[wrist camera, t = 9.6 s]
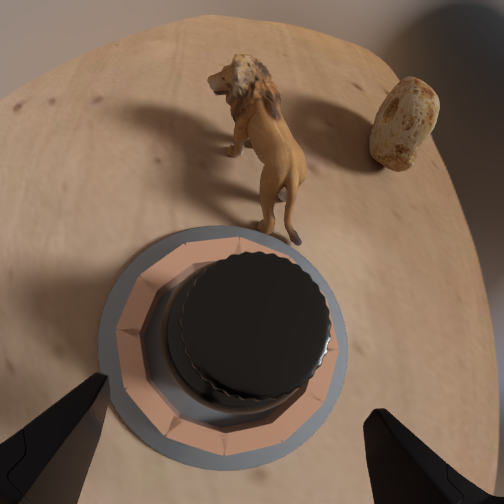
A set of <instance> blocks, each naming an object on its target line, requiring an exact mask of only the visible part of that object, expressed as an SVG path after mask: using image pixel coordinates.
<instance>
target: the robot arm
mask: <svg viewBox="0 0 504 504" xmlns="http://www.w3.org/2000/svg"><path fill="white" fill-rule="evenodd" d="M109 399H110V383H109V377H108V375H106V374H102V373H99V372H96V373H94V374H93V375H91V376H90V377H89V378H88V379H86V380H85V381H84V382H82V383H81V384H80V385H78V386H77V387H76V388H74V389H73V390H72V391H70V392H69V393H68V394H67V395H65V396H64V397H63V398H61V399H60V400H59V401H57V402H56V403H55V404H53V405H52V406H51V407H50V408H48V409H47V410H46V411H44V412H43V413H42V414H40V415H39V416H38V417H36V418H35V419H34V420H33V421H31V422H30V423H29V424H27V425H26V426H25V427H24V428H23V429H21V430H19V431H18V432H17V433H15V434H14V435H13V436H11V437H10V438H8V439H7V440H5V441H4V442H2V443H1V444H0V504H77V502H78V499H79V496H80V493H81V490H82V487H83V484H84V481H85V478H86V475H87V472H88V469H89V467H90V464H91V461H92V458H93V455H94V452H95V450H96V447H97V444H98V442H99V439H100V435H101V431H102V427H103V423H104V419H105V415H106V411H107V407H108V403H109ZM363 431H364V441H365V451H366V461H367V467H368V472H369V477H370V482H371V488H372V493H373V498H374V504H504V497H497V496H493V495H490V494H488V493H486V492H485V491H483V490H482V489H480V488H479V487H478V486H476V485H475V484H473V483H472V482H470V481H469V480H467V479H466V478H465V477H463V476H462V475H461V474H459V473H458V472H457V471H456V470H454V469H453V468H452V467H451V466H450V465H449V464H447V463H446V462H445V461H444V460H443V459H442V458H440V457H439V456H438V455H437V454H436V453H435V452H434V451H432V450H431V449H430V448H429V447H428V446H427V445H426V444H424V443H423V442H422V441H421V440H420V439H419V438H418V437H417V436H415V435H414V434H413V433H412V432H411V431H410V430H409V429H407V428H406V427H405V426H404V425H403V424H402V423H401V422H400V421H399V420H397V419H396V418H395V417H394V416H393V415H392V414H391V413H390V412H389V411H387V410H386V409H384V408H378V409H374V410H373V411H372V412H371V414H370V415H369V417H368V418H367V419H366V420H365V422H364V425H363Z"/></svg>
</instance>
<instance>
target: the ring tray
mask: <svg viewBox="0 0 504 504" xmlns="http://www.w3.org/2000/svg"><path fill="white" fill-rule="evenodd" d="M245 251H247V252H251V253H254V252H257V251H261V252H264V253H266V254H269V253H274V254H276V255H277V256H279V257H284V258H287V259H289V260H290V261H291V262H292V263H294V264H298V265H299V266H300V267H301V268H302V270H303V271H305V272H307V273H309V274H310V276H311V278H312V280H313V281H314V282H315V283H317V284H318V285H319V288H320V292H321V293H322V294H323V295H324V296H325V300H326V305H327V307H328V308H329V310H330V314H329V319H330V321H331V324H332V325H331V329H330V334H331V340H330V342H329V343H328V352H327V354H326V355H325V356H324V357H323V361H322V365H321V366H320V367H319V368H318V369H316V371H315V374H314V376H313V377H312V378H310V379H308V380H306V382H305V384H304V385H303V386H302V387H300V388H299V389H298V390H297V391H296V392H295V393H294V394H293V395H292V396H290V397H289V398H288V399H287V400H285V401H284V402H282V403H280V404H279V405H277V406H275V407H273V408H270V409H268V410H265V411H262V412H258V413H252V414H228V413H223V412H219V411H215V410H213V409H210V408H208V407H205V406H203V405H201V404H200V403H198V402H196V401H195V400H194V399H192V398H191V397H190V396H188V395H187V394H186V393H185V392H184V391H183V390H182V389H181V388H180V387H179V386H178V384H177V383H176V382H175V380H174V379H173V378H172V376H171V374H170V372H169V371H168V368H167V366H166V364H165V361H164V358H163V355H162V350H161V344H160V326H161V320H162V315H163V312H164V309H165V307H166V304H167V302H168V300H169V298H170V296H171V295H172V293H173V292H174V290H175V289H176V288H177V286H178V285H179V284H180V283H181V282H182V281H183V280H184V279H185V278H186V277H187V276H189V275H190V274H191V273H193V272H194V271H196V270H197V269H199V268H201V267H203V266H205V265H207V264H210V263H212V262H216V261H218V260H221V259H226V258H228V257H229V256H230V255H231V254H241V253H243V252H245ZM347 357H348V345H347V334H346V328H345V323H344V319H343V316H342V313H341V310H340V307H339V305H338V302H337V300H336V298H335V296H334V294H333V292H332V290H331V289H330V287H329V285H328V284H327V282H326V280H325V279H324V278H323V277H322V275H321V274H320V273H319V272H318V270H317V269H316V268H315V267H314V266H313V265H312V264H311V263H310V262H309V261H308V260H307V259H306V258H305V257H304V256H302V255H301V254H300V253H299V252H297V251H296V250H295V249H293V248H292V247H290V246H289V245H287V244H285V243H284V242H282V241H280V240H278V239H276V238H274V237H272V236H269V235H267V234H264V233H261V232H258V231H255V230H252V229H247V228H242V227H236V226H223V225H220V226H204V227H198V228H192V229H188V230H185V231H182V232H178V233H175V234H173V235H171V236H169V237H166V238H164V239H162V240H160V241H159V242H157V243H155V244H154V245H152V246H150V247H149V248H147V249H146V250H145V251H144V252H142V253H141V254H140V255H139V256H138V257H136V258H135V259H134V260H133V261H132V262H131V263H130V265H129V266H128V267H127V268H126V269H125V270H124V271H123V273H122V274H121V275H120V277H119V278H118V280H117V281H116V282H115V284H114V286H113V288H112V290H111V292H110V294H109V296H108V298H107V300H106V303H105V306H104V309H103V311H102V315H101V320H100V325H99V331H98V360H99V366H100V371H101V373H102V374H106V375H108V377H109V383H110V400H111V402H112V403H113V405H114V407H115V409H116V411H117V412H118V414H119V415H120V416H121V418H122V419H123V421H124V422H125V423H126V425H127V426H128V427H129V428H130V429H131V430H132V431H133V432H134V433H135V434H136V435H137V436H138V437H139V438H140V439H141V440H143V441H144V442H145V443H146V444H148V445H149V446H150V447H152V448H153V449H154V450H156V451H158V452H160V453H161V454H163V455H165V456H167V457H168V458H171V459H173V460H175V461H178V462H180V463H183V464H186V465H189V466H193V467H197V468H201V469H209V470H218V471H230V470H242V469H248V468H254V467H257V466H261V465H264V464H267V463H270V462H273V461H275V460H277V459H279V458H281V457H283V456H286V455H287V454H289V453H290V452H292V451H293V450H295V449H297V448H298V447H300V446H301V445H302V444H303V443H304V442H306V441H307V440H308V439H309V438H310V437H311V436H312V435H313V434H314V433H315V432H316V431H317V430H318V429H319V428H320V426H321V425H322V424H323V423H324V421H325V420H326V418H327V417H328V415H329V414H330V413H331V411H332V409H333V407H334V405H335V403H336V401H337V399H338V397H339V394H340V391H341V389H342V386H343V383H344V378H345V373H346V368H347Z"/></svg>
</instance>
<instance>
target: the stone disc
mask: <svg viewBox="0 0 504 504" xmlns="http://www.w3.org/2000/svg"><path fill="white" fill-rule="evenodd" d="M439 109H440V102H439V99H438V96H437V94H436V93H435V92H434V90H433V89H432V88H431V87H430V86H428V85H427V84H426V83H425V82H423V81H421V80H419V79H417V78H415V77H411V76H408V77H407V78H404V79H403V80H401V81H400V82H399V83H398V84H397V85H396V86H395V87H394V89H393V90H392V91H391V92H390V94H389V95H388V96H387V97H386V99H385V100H384V102H383V103H382V105H381V106H380V108H379V110H378V112H377V114H376V117H375V121H374V124H373V126H372V130H371V134H370V138H369V146H370V154H371V156H372V157H373V158H374V159H375V160H376V161H378V162H379V163H380V164H382V165H384V166H385V167H387V168H389V169H391V170H393V171H396V172H400V171H405V170H407V169H409V168H411V167H412V165H413V164H414V162H415V160H416V157H417V153H418V148H419V146H420V145H421V144H422V143H423V141H424V140H425V139H427V137H428V136H429V134H430V133H431V131H432V130H433V129H434V126H435V124H436V121H437V117H438V113H439Z"/></svg>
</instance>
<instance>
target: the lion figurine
mask: <svg viewBox="0 0 504 504" xmlns="http://www.w3.org/2000/svg"><path fill="white" fill-rule="evenodd" d="M207 81H208V83H209V84H210V88H211V89H212V90H213V91H214V94H215V95H226V102H227V103H228V104H229V105H230V106H231V116H232V117H233V120H234V122H235V128H234V145H231V146H230V147H228V148H227V154H228V155H230V156H232V157H239V156H241V155H242V154H243V151H244V141H245V140H247V138H248V137H249V139H250V142H251V145H252V147H253V149H254V151H255V153H256V155H257V156H258V158H259V159H260V160H261V162H262V163H264V164H265V165H264V167H263V171H262V174H261V179H260V202H261V207H262V211H263V217H264V220H261V221H260V222H259V223H258V226H257V230H258V232H261V233H264V234H267V235H269V234H271V233H272V232H273V230H274V225H275V217H274V213H273V207H274V202H275V197H276V195H278V196H279V198H280V200H282V201H285V202H286V205H285V215H284V223H285V228H286V230H287V232H288V234H289V237H290V240H291V241H292V242H293V243H294V244H295V245H298V246H299V245H301V243H302V241H301V239H300V238H299V236H298V234H297V232H296V231H295V230H294V229H293V228H292V225H291V216H292V211H293V206H294V203H295V199H296V194H297V189H298V187H299V186H300V185H301V183H302V182H303V181H304V180H305V177H306V163H305V156H304V153H303V150H302V149H301V148H300V146H299V145H298V144H297V142H296V141H295V140H294V138H293V136H292V134H291V132H290V130H289V128H288V126H287V124H286V122H285V120H284V118H283V116H282V114H281V111H280V102H281V99H280V94H279V92H278V90H277V84H276V83H275V82H274V80H273V77H272V75H271V74H270V73H269V71H268V70H267V67H266V66H265V65H263V63H262V62H261V61H260V60H258V59H256V58H255V57H252V55H247V54H235V57H234V58H233V61H232V63H231V65H227V66H225V67H224V68H223V70H222V71H221V72H219V73H217V74H214V75H212V76H210V77H208V79H207ZM283 187H285V188H283Z"/></svg>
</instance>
